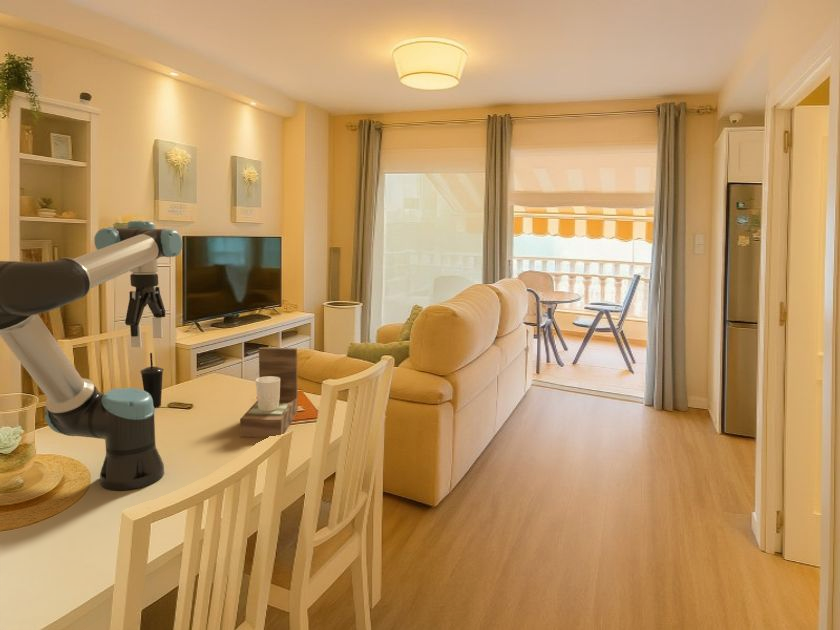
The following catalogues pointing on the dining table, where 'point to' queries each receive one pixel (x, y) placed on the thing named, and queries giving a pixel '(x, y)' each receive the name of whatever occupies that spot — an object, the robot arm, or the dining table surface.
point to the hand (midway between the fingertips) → (147, 342)
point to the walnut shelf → (278, 421)
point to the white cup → (268, 393)
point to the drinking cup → (153, 382)
